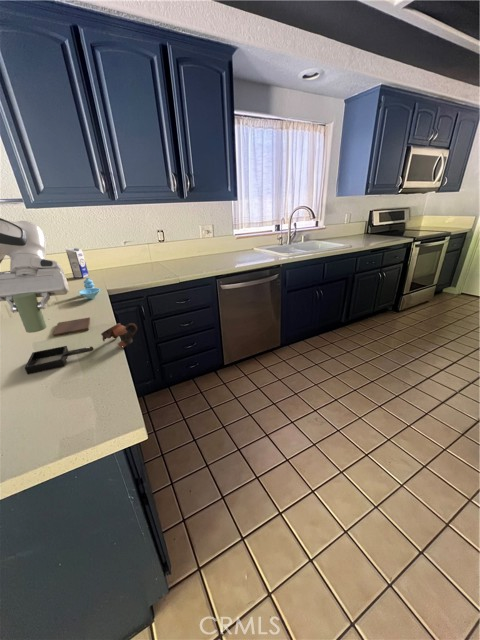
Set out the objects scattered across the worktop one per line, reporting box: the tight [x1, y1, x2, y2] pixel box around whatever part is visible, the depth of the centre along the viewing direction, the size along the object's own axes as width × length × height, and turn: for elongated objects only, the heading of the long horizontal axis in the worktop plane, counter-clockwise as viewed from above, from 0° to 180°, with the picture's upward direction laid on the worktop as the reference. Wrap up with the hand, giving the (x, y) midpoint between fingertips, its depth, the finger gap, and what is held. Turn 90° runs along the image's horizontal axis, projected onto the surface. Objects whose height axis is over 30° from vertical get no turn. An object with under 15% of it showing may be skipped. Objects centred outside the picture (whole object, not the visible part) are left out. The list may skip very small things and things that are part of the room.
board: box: [52, 317, 91, 337], centre depth 109 cm, size 12×12×1 cm
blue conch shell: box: [78, 277, 101, 300], centre depth 143 cm, size 18×10×9 cm, turn 28°
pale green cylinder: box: [12, 292, 48, 334], centre depth 78 cm, size 5×5×11 cm
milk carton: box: [65, 247, 90, 279], centre depth 180 cm, size 7×7×20 cm
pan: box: [24, 345, 95, 375], centre depth 86 cm, size 18×10×3 cm, turn 114°
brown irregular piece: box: [100, 322, 138, 349], centre depth 96 cm, size 12×10×8 cm
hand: (28, 310), depth 77 cm, fingers closed on pale green cylinder, 5 cm apart
